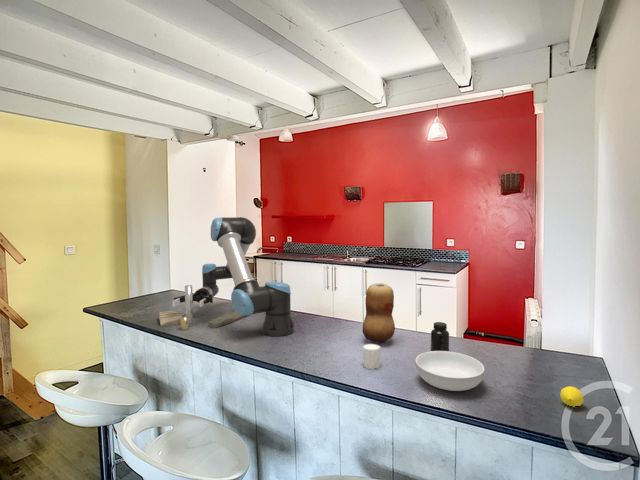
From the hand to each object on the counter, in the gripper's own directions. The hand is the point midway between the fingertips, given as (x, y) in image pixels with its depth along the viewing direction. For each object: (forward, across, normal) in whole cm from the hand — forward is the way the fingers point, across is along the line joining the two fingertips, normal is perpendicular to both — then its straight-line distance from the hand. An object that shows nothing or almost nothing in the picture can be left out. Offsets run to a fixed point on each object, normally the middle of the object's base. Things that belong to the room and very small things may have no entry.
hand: (186, 304), depth 179 cm
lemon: (+69, -141, -12) cm, 157 cm away
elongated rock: (-15, -19, -12) cm, 27 cm away
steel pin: (-2, 0, -11) cm, 12 cm away
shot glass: (+43, -87, -12) cm, 98 cm away
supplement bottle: (+31, -114, -12) cm, 119 cm away
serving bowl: (+56, -110, -12) cm, 124 cm away
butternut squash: (+18, -92, -12) cm, 94 cm away
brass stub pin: (+4, 0, -11) cm, 12 cm away
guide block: (-10, +13, -11) cm, 20 cm away
